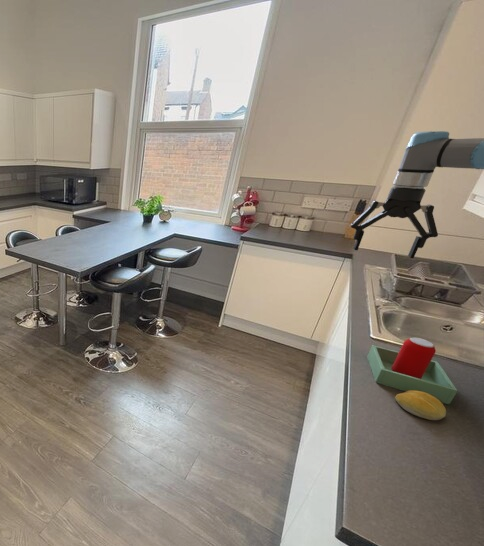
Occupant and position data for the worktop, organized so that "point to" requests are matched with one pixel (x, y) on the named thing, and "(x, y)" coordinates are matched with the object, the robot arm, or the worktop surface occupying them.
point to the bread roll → (421, 404)
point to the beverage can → (414, 357)
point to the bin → (430, 382)
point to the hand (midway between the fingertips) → (382, 253)
